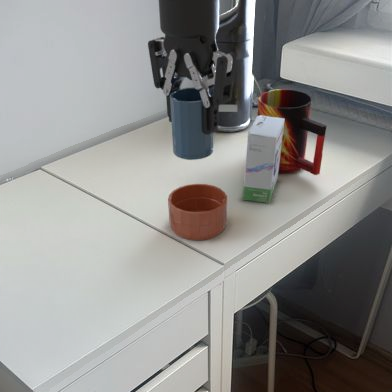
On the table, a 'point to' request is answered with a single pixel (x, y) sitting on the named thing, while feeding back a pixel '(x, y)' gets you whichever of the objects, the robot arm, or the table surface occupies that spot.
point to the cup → (189, 125)
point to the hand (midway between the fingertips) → (192, 126)
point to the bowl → (197, 211)
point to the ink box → (263, 158)
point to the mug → (294, 128)
